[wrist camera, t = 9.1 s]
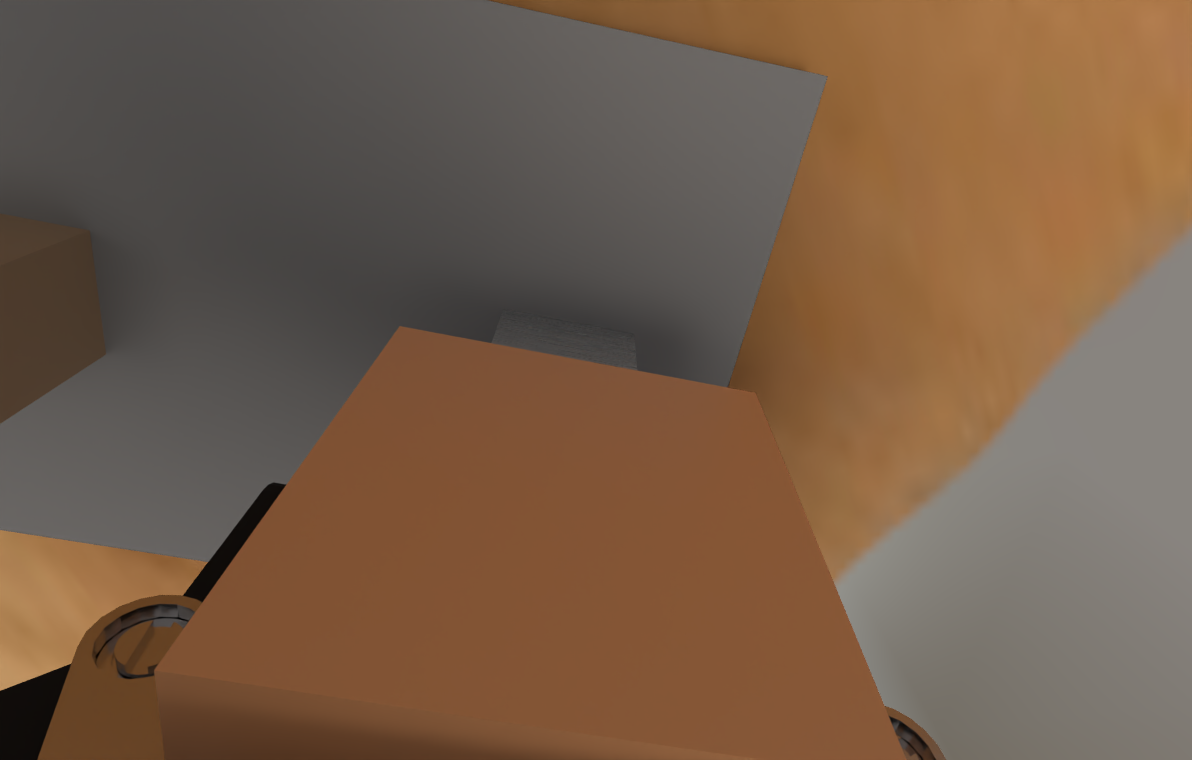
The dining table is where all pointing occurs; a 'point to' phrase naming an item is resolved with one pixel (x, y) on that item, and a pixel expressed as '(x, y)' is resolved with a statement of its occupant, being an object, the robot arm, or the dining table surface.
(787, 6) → the dining table surface
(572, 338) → the steel post
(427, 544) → the tan cardboard box
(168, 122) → the post stand
